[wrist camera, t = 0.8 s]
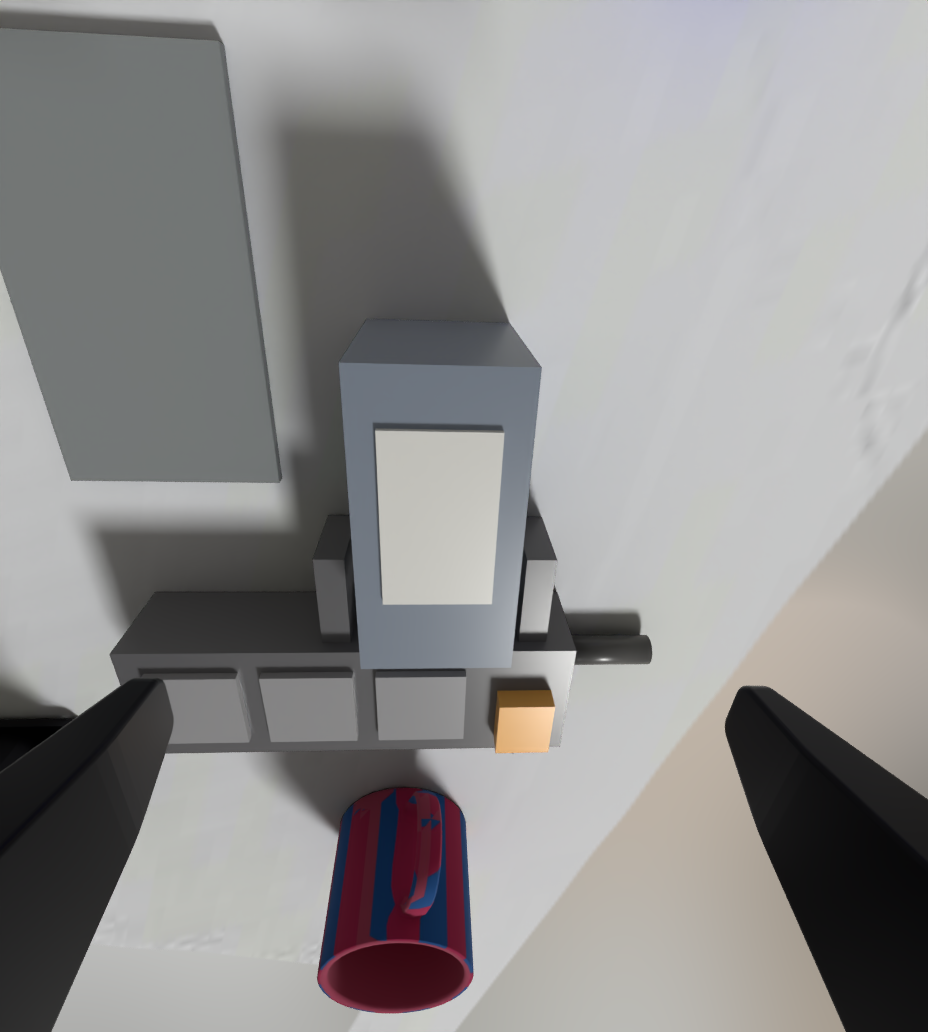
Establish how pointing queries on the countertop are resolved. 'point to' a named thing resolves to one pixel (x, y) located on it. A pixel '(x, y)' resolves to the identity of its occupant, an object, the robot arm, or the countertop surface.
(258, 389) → the mat
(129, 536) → the countertop surface
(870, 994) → the robot arm
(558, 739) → the power strip
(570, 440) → the countertop surface
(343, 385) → the block
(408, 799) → the mug
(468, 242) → the countertop surface
